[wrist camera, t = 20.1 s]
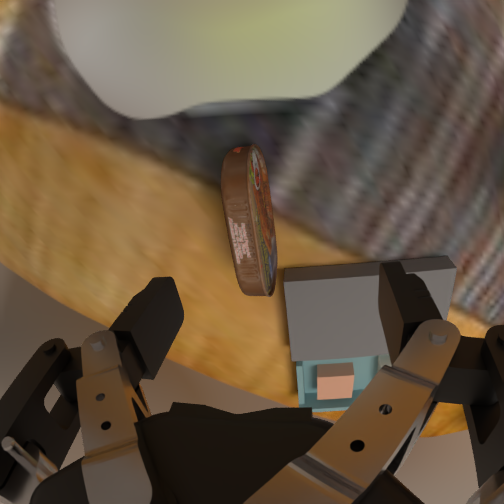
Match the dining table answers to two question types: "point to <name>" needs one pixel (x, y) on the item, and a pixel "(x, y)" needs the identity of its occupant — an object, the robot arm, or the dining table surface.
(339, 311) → the grey stone slab
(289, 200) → the dining table surface
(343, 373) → the terracotta tile
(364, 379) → the tray
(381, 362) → the cream tile
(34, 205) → the dining table surface
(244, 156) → the tin
